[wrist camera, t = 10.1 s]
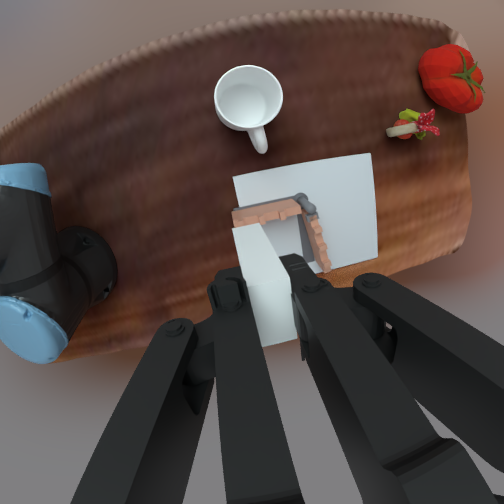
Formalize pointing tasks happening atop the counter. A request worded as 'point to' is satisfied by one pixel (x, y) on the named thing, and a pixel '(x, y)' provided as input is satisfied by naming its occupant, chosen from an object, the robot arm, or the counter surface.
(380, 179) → the counter surface
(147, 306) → the counter surface
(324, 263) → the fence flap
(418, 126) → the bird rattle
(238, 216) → the fence fixed
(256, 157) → the counter surface
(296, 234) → the card
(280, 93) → the mug
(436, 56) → the tomato
